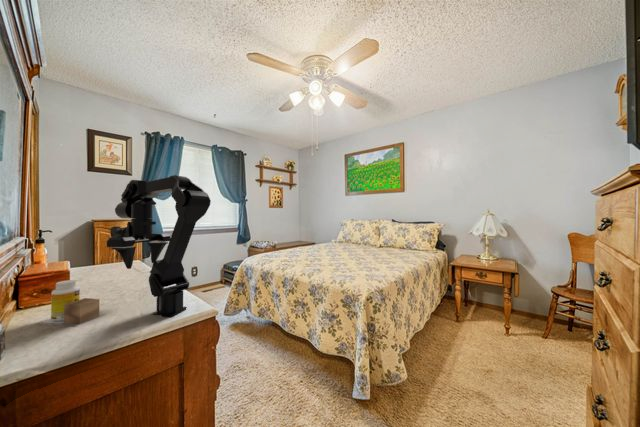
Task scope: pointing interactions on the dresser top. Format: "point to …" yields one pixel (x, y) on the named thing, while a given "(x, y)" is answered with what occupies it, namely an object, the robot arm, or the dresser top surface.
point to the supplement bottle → (63, 298)
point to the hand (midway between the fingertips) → (141, 265)
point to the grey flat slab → (61, 323)
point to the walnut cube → (81, 311)
